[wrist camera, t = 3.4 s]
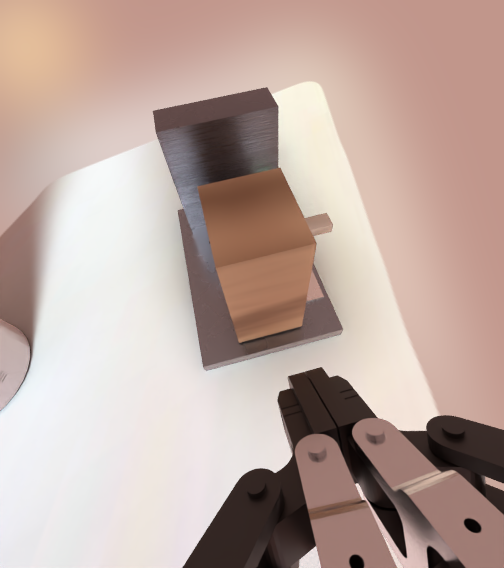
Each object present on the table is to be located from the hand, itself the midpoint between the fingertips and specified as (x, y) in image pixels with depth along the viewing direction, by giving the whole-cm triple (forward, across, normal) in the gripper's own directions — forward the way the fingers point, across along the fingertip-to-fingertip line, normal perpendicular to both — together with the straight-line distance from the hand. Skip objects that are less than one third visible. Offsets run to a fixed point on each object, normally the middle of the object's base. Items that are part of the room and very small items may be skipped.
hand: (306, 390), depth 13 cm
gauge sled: (+12, -1, -1) cm, 12 cm away
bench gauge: (+16, 0, -3) cm, 16 cm away
